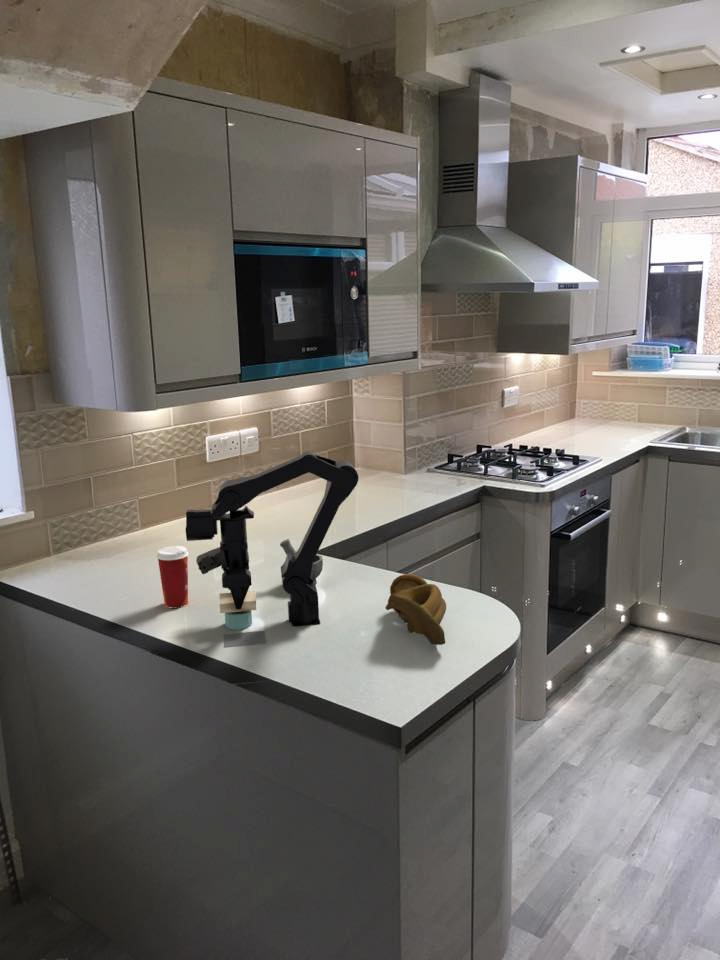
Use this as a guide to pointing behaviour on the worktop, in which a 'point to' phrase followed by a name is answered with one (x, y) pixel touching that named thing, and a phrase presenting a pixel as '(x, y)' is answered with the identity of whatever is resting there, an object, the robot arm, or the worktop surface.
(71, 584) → the worktop surface
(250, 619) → the ramekin
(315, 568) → the mortar and pestle
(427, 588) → the brown looped sculpture
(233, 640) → the mat
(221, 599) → the board
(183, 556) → the paper cup
